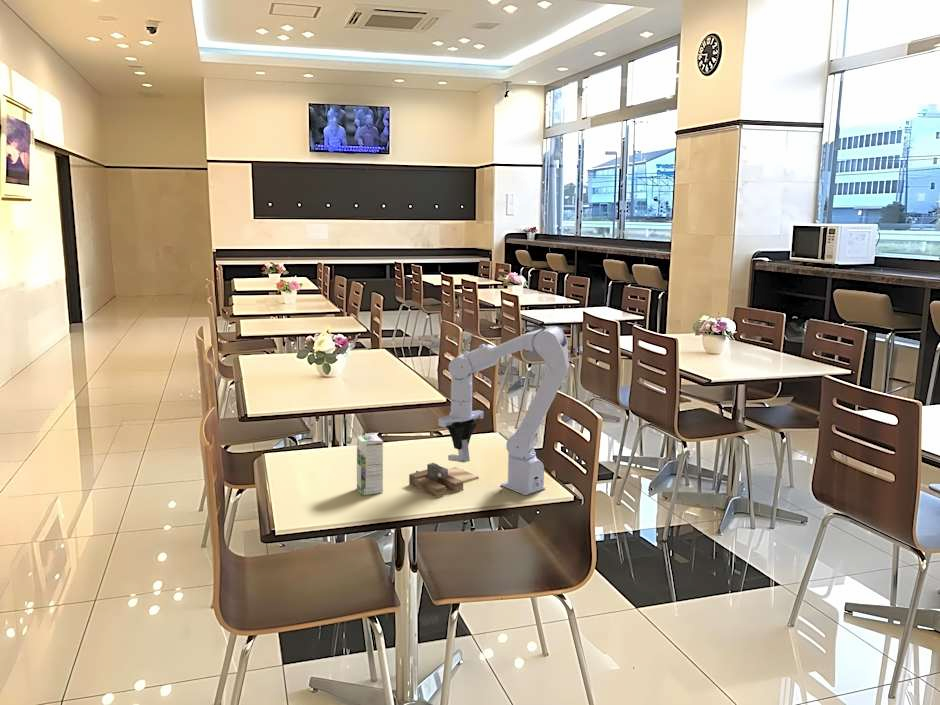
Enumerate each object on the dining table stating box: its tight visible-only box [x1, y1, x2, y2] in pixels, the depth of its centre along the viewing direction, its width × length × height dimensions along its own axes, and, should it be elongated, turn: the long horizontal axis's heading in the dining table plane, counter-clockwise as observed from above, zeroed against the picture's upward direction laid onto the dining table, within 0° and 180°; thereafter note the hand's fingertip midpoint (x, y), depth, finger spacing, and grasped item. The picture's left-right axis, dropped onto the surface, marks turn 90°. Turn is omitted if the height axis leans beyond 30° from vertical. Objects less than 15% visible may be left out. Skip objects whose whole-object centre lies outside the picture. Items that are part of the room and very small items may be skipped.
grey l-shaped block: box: [447, 439, 471, 463], centre depth 212 cm, size 7×2×6 cm, turn 41°
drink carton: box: [356, 434, 384, 496], centre depth 201 cm, size 6×6×14 cm
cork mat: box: [447, 466, 480, 484], centre depth 214 cm, size 10×8×1 cm
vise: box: [408, 462, 464, 499], centre depth 206 cm, size 14×9×6 cm, turn 41°
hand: (461, 447), depth 210 cm, fingers closed on grey l-shaped block, 2 cm apart
